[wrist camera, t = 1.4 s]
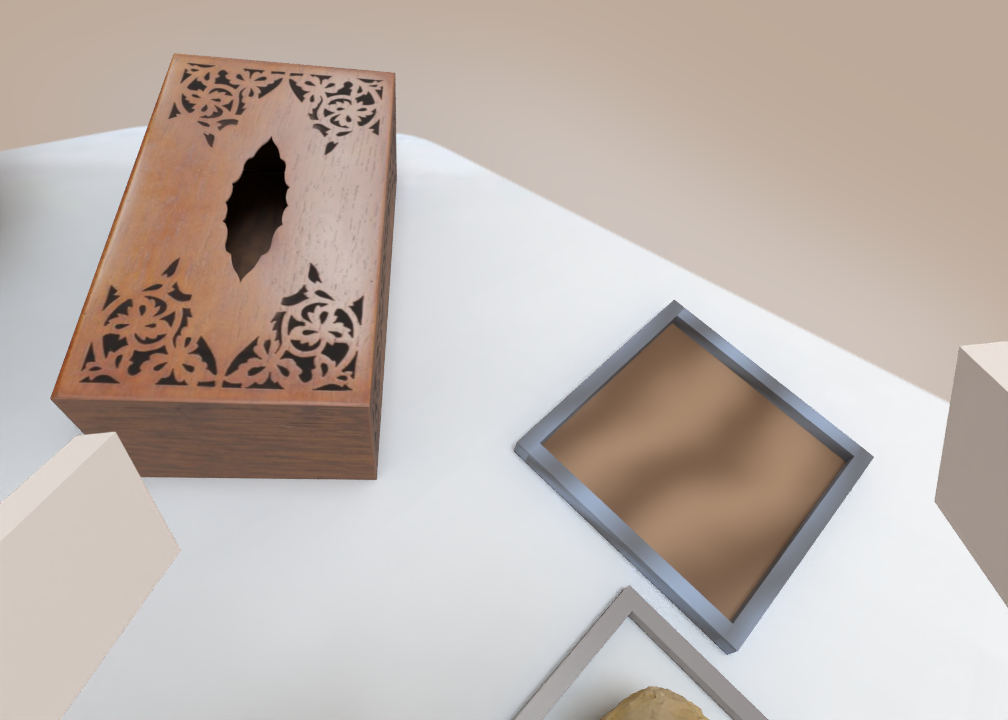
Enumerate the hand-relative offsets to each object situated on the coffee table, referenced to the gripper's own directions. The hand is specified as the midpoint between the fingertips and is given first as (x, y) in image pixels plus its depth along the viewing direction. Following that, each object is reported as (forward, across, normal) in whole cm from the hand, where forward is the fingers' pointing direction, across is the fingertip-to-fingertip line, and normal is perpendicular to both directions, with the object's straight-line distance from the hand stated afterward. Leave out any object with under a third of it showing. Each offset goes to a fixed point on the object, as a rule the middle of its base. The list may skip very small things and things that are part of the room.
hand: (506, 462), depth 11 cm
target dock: (+28, +6, -22) cm, 36 cm away
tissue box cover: (+32, -21, -9) cm, 40 cm away
